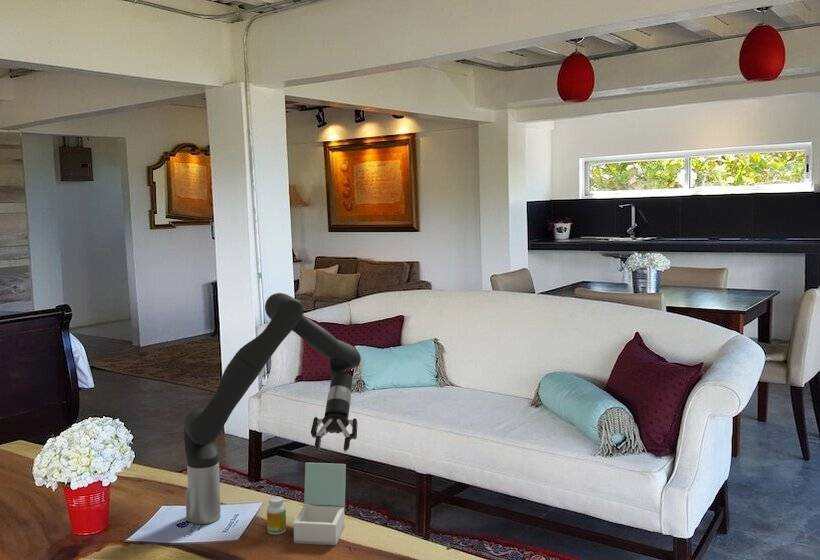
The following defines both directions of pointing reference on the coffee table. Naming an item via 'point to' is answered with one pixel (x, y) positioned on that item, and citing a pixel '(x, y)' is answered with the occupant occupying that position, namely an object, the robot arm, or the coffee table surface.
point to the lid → (325, 484)
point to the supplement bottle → (276, 516)
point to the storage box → (319, 525)
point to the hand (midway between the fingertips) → (331, 449)
